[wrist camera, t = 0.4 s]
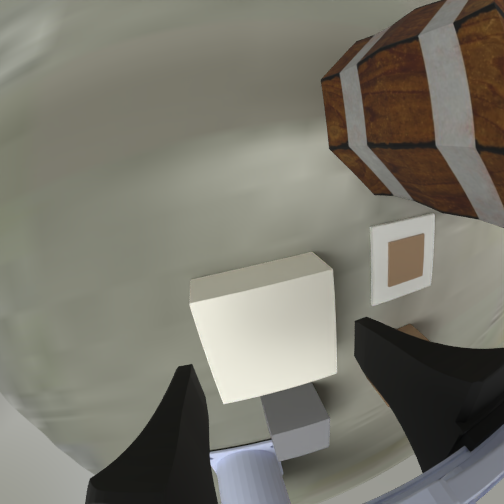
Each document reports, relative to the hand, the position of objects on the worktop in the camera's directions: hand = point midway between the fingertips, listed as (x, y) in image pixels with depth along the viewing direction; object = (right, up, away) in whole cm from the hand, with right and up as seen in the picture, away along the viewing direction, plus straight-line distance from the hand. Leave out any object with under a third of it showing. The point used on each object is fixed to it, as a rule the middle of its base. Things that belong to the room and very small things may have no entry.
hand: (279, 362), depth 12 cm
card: (+12, +4, +11) cm, 17 cm away
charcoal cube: (+2, -10, +14) cm, 18 cm away
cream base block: (0, 0, +11) cm, 11 cm away
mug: (+13, +17, +8) cm, 23 cm away
